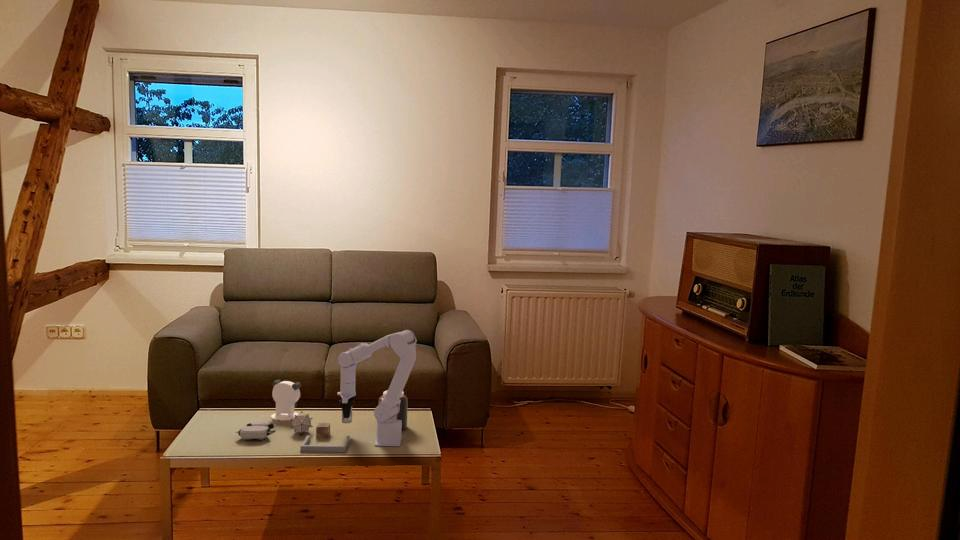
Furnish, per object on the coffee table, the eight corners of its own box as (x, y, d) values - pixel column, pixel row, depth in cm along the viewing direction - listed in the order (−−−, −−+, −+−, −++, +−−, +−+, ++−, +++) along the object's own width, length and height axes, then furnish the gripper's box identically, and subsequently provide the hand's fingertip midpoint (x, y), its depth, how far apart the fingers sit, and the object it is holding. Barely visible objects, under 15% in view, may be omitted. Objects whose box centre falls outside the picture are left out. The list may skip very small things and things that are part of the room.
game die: (298, 443, 238) (284, 427, 233) (298, 429, 245) (284, 412, 240) (318, 433, 238) (304, 416, 233) (318, 418, 245) (305, 402, 240)
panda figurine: (305, 413, 262) (306, 379, 260) (291, 422, 251) (291, 386, 250) (280, 410, 265) (281, 376, 263) (265, 418, 254) (265, 383, 252)
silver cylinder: (352, 420, 240) (353, 405, 240) (351, 423, 236) (351, 408, 236) (342, 419, 240) (342, 405, 239) (340, 423, 236) (340, 408, 236)
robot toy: (245, 431, 241) (234, 442, 226) (246, 420, 241) (234, 430, 226) (277, 431, 243) (268, 442, 228) (277, 420, 242) (268, 430, 228)
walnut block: (330, 434, 239) (330, 423, 239) (327, 438, 235) (328, 427, 235) (318, 433, 239) (318, 422, 239) (316, 438, 235) (316, 426, 234)
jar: (404, 433, 243) (405, 397, 241) (375, 432, 243) (376, 395, 241) (408, 423, 254) (409, 388, 253) (380, 422, 255) (381, 387, 253)
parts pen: (349, 441, 233) (349, 435, 233) (344, 452, 222) (345, 446, 222) (307, 440, 232) (307, 435, 232) (300, 451, 221) (300, 446, 221)
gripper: (340, 376, 244) (340, 409, 245) (334, 386, 229) (333, 421, 230) (358, 376, 244) (358, 410, 245) (353, 387, 230) (352, 422, 231)
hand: (347, 415), depth 238 cm, fingers closed on silver cylinder, 4 cm apart
